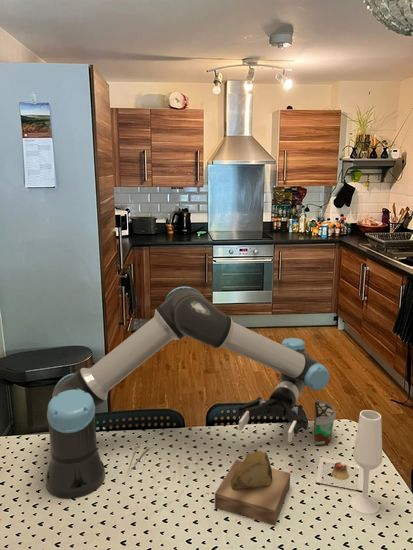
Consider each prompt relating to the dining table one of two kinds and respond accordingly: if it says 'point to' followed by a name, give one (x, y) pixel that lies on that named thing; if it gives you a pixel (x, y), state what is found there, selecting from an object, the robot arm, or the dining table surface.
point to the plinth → (254, 496)
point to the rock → (253, 471)
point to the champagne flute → (367, 456)
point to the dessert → (340, 471)
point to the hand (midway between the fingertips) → (264, 431)
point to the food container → (323, 423)
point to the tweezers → (138, 458)
